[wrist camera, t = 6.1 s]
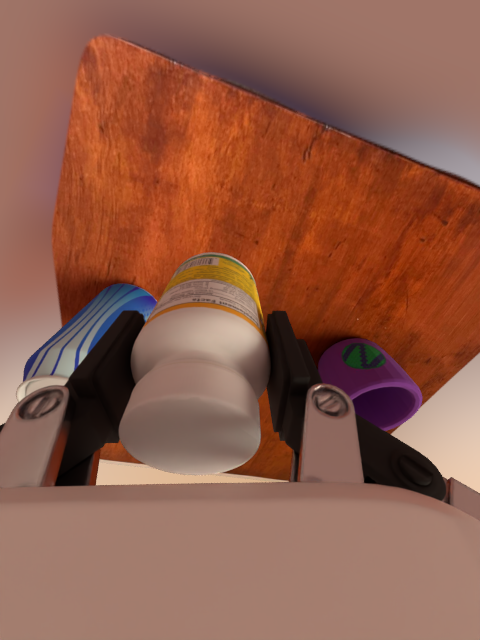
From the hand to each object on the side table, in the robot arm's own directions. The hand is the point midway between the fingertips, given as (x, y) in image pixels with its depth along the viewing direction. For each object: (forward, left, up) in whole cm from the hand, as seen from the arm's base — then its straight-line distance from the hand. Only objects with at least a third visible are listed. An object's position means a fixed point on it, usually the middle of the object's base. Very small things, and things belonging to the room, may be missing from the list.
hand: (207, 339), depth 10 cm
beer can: (-13, -10, -20) cm, 26 cm away
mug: (+17, -20, -20) cm, 33 cm away
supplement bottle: (0, 0, -5) cm, 5 cm away
